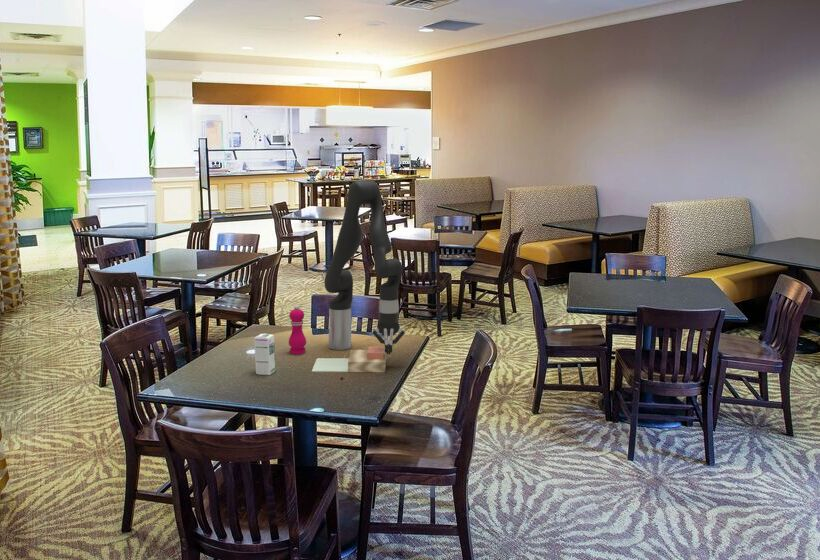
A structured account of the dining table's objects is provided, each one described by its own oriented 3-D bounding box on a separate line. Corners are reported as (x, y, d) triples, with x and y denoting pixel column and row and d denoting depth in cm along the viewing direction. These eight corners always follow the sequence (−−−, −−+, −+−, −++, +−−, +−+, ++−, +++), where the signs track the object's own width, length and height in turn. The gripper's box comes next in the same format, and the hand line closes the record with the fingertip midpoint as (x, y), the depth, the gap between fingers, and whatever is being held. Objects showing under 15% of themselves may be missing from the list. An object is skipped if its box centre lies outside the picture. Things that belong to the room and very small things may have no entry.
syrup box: (270, 375, 257) (268, 337, 254) (255, 374, 258) (253, 336, 255) (276, 370, 262) (274, 333, 260) (261, 369, 263) (260, 332, 261)
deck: (348, 372, 261) (348, 362, 260) (351, 359, 277) (351, 349, 276) (385, 372, 261) (385, 362, 261) (386, 359, 277) (386, 350, 276)
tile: (367, 359, 264) (367, 353, 263) (368, 352, 273) (368, 346, 272) (382, 359, 264) (382, 353, 264) (383, 352, 273) (383, 346, 272)
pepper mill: (308, 350, 289) (307, 303, 285) (304, 355, 282) (303, 307, 278) (291, 349, 290) (290, 303, 286) (286, 354, 282) (285, 307, 279)
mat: (311, 371, 261) (311, 370, 261) (317, 359, 277) (317, 358, 277) (347, 372, 261) (347, 371, 261) (350, 359, 277) (350, 358, 277)
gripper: (371, 312, 261) (371, 356, 265) (406, 312, 262) (405, 356, 265) (371, 308, 269) (372, 350, 272) (405, 308, 269) (405, 350, 272)
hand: (388, 353), depth 268 cm, fingers closed
